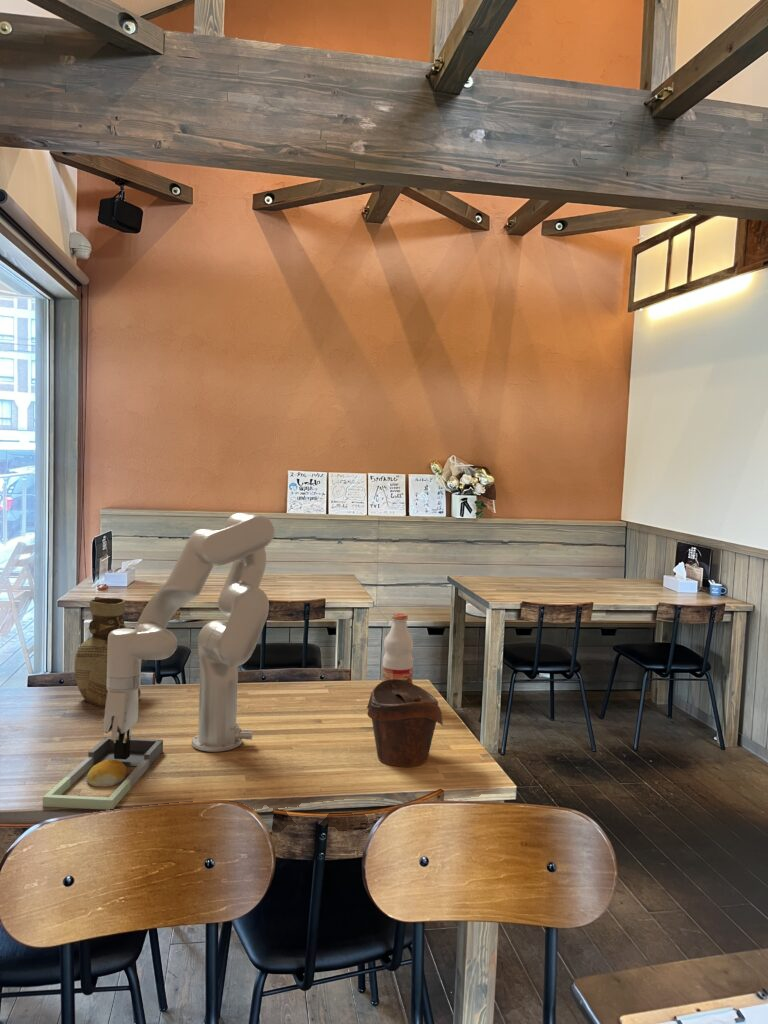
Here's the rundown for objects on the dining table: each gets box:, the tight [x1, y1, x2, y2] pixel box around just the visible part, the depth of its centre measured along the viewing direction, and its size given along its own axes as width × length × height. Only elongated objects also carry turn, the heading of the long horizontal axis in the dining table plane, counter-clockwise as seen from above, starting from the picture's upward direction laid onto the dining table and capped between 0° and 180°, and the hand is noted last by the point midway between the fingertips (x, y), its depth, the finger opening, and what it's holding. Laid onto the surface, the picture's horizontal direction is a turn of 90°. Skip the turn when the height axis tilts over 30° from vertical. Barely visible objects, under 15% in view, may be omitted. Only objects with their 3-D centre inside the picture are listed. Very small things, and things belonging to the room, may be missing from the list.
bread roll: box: [86, 760, 128, 788], centre depth 165 cm, size 8×9×4 cm
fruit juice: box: [381, 613, 414, 684], centre depth 226 cm, size 9×9×28 cm
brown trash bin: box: [366, 679, 444, 768], centre depth 184 cm, size 18×20×18 cm
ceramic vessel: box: [74, 597, 147, 708], centre depth 221 cm, size 19×21×30 cm
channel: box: [42, 736, 164, 811], centre depth 166 cm, size 14×32×3 cm, turn 179°
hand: (121, 757), depth 174 cm, fingers closed
